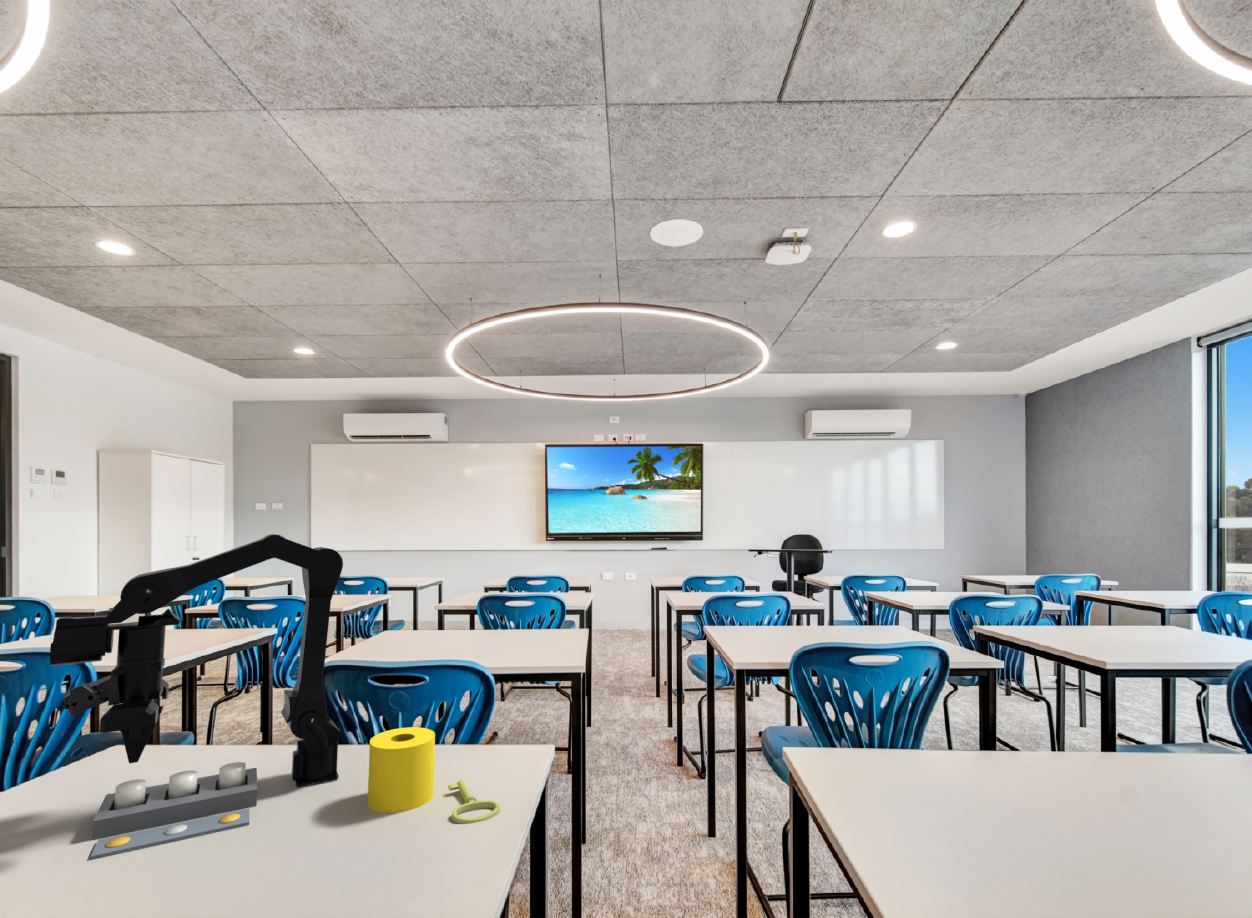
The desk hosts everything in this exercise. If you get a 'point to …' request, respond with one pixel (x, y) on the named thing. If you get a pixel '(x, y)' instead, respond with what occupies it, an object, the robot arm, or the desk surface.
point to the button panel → (174, 806)
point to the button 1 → (130, 794)
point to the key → (471, 805)
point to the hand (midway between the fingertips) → (133, 762)
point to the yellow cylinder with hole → (401, 769)
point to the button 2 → (232, 775)
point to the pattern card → (170, 833)
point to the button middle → (182, 784)
